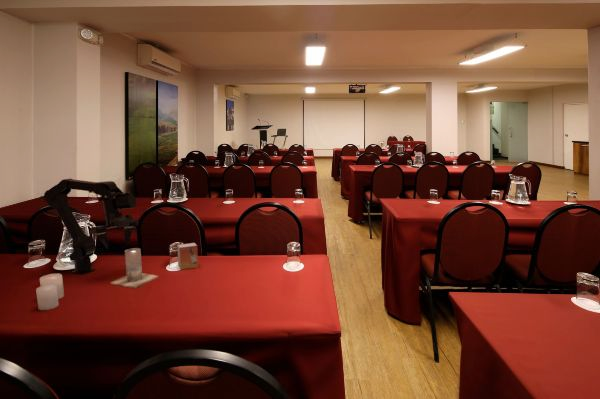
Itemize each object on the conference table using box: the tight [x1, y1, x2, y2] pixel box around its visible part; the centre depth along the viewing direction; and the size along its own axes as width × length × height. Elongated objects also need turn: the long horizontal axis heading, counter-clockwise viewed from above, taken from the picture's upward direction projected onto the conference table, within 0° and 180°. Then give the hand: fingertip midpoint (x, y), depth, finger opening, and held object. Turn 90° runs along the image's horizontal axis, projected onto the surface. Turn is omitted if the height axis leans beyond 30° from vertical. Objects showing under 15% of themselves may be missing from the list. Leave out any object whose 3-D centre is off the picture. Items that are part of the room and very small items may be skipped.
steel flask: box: [124, 247, 143, 282], centre depth 158 cm, size 6×6×12 cm
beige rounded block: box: [39, 273, 65, 300], centre depth 142 cm, size 7×7×8 cm
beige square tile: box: [110, 272, 159, 289], centre depth 159 cm, size 13×13×1 cm
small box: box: [176, 242, 199, 270], centre depth 174 cm, size 8×6×10 cm
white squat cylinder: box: [35, 284, 60, 311], centre depth 134 cm, size 6×6×7 cm
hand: (118, 246), depth 163 cm, fingers open, 9 cm apart
